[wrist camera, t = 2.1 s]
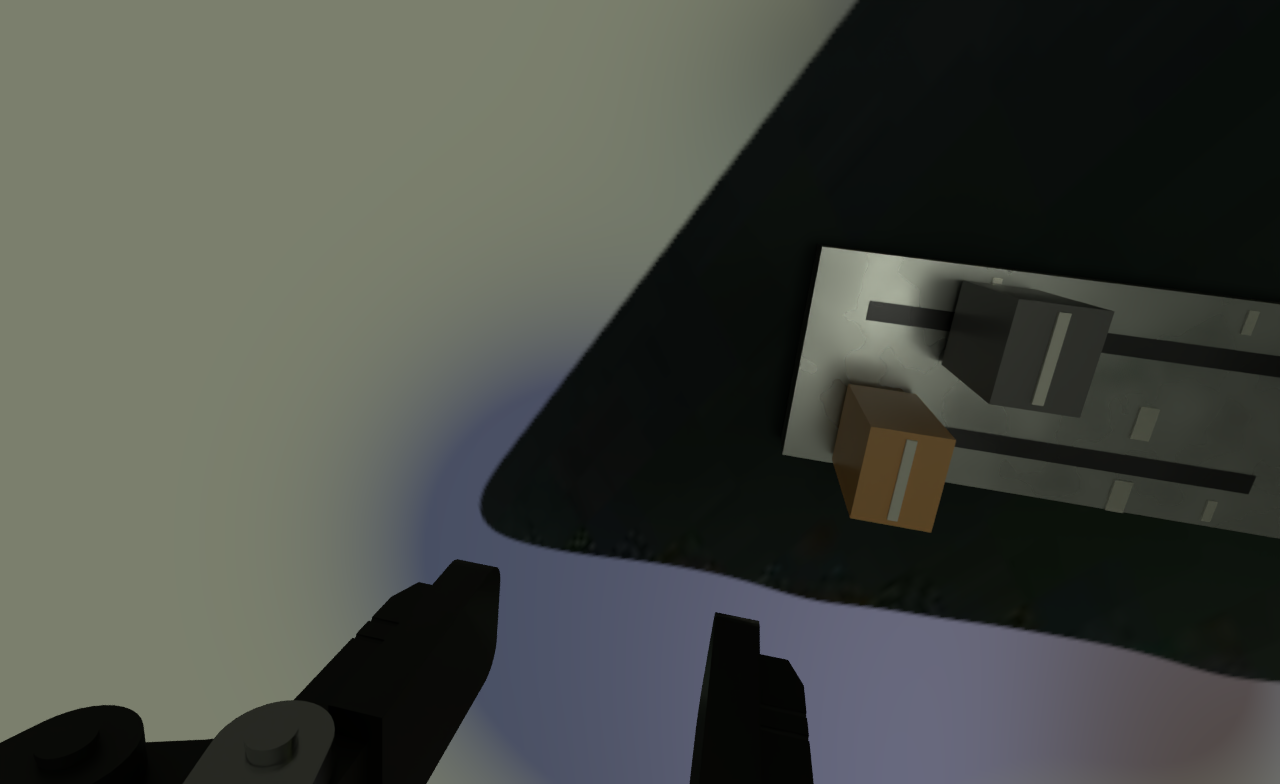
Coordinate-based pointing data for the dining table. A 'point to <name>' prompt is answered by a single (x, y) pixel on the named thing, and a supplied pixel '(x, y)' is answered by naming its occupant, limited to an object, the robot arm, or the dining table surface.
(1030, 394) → the fader
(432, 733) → the robot arm
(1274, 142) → the dining table surface
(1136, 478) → the console
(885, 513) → the fader
